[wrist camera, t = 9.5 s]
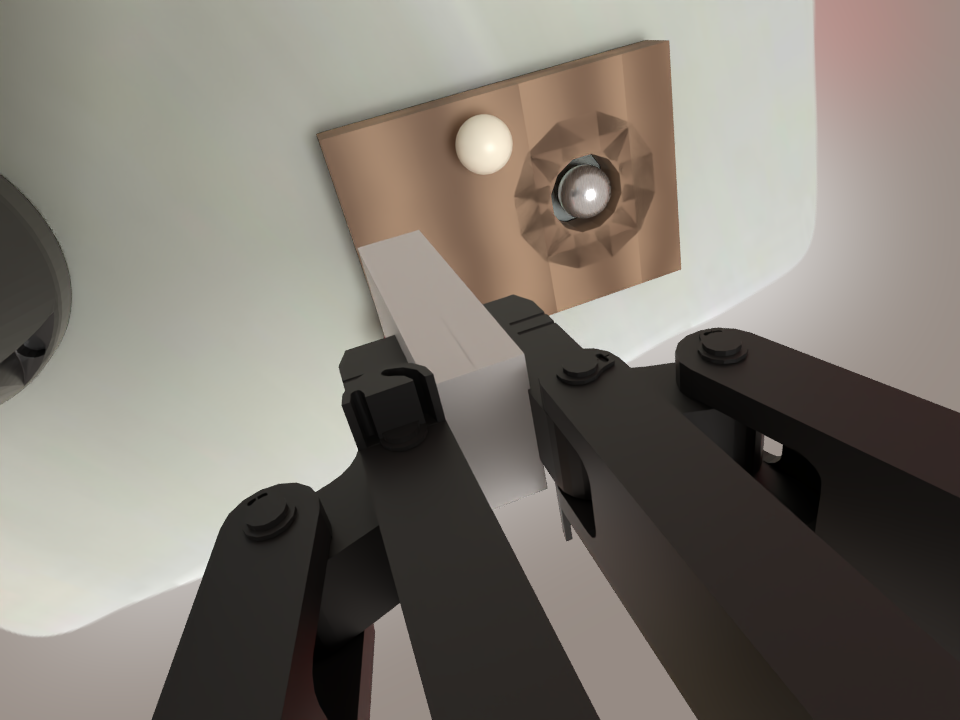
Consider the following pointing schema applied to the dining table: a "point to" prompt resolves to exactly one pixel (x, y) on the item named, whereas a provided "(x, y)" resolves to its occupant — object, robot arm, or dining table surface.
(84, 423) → the dining table surface
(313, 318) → the dining table surface
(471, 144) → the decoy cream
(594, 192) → the steel ball
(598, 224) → the board
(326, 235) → the dining table surface
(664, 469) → the robot arm
